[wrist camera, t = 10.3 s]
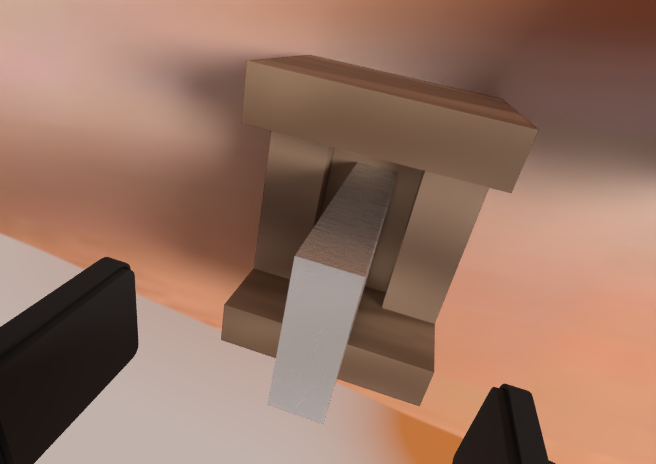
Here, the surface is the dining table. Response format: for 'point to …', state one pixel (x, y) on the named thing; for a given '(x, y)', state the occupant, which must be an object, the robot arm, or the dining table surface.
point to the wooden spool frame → (402, 212)
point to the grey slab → (328, 293)
